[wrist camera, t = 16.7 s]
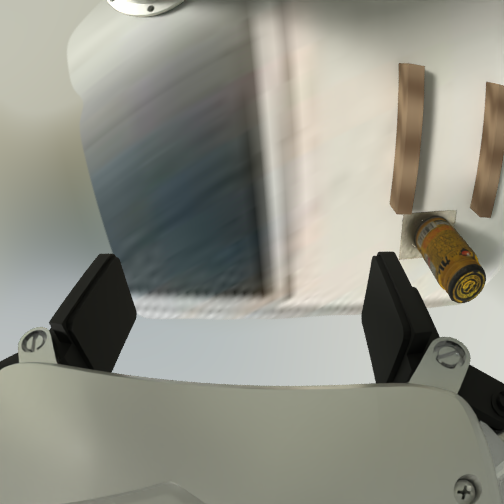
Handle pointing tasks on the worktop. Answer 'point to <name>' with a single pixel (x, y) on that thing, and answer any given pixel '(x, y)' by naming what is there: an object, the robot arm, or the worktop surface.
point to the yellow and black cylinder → (443, 253)
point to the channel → (409, 141)
